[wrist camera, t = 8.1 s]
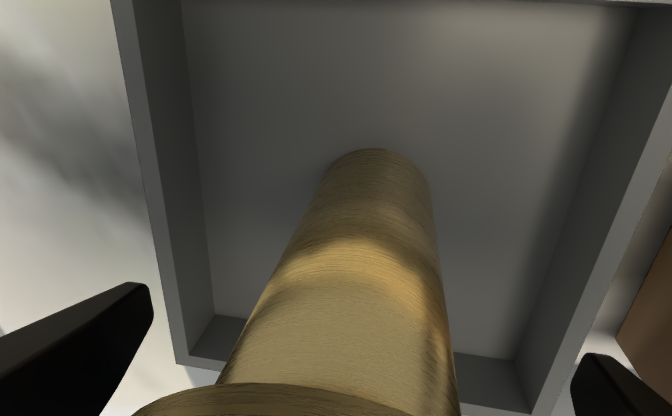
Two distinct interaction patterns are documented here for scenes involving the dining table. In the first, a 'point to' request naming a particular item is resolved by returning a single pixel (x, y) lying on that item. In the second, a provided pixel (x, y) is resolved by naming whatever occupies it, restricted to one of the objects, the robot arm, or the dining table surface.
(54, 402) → the robot arm
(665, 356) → the walnut block
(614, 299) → the dining table surface
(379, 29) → the charcoal tray
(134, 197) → the dining table surface
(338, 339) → the brass pin
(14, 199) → the dining table surface
